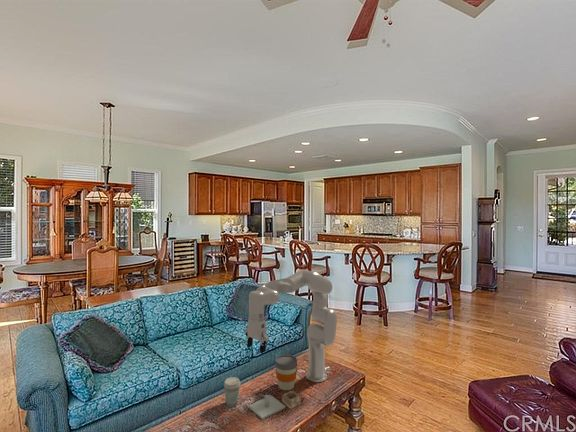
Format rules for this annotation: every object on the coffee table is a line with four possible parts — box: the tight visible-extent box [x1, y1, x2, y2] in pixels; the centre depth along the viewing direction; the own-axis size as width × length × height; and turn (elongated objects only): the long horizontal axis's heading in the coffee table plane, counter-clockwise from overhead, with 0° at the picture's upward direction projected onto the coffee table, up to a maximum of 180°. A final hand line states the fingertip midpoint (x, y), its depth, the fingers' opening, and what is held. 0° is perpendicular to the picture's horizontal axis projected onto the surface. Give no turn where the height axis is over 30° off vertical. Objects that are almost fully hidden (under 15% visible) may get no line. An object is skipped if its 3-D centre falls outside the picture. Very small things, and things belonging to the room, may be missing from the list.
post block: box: [248, 394, 286, 420], centre depth 163 cm, size 14×12×6 cm
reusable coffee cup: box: [274, 354, 298, 391], centre depth 183 cm, size 13×13×15 cm
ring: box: [281, 389, 302, 410], centre depth 167 cm, size 7×7×4 cm
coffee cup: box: [223, 376, 241, 408], centre depth 166 cm, size 8×8×12 cm
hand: (256, 349), depth 163 cm, fingers open, 9 cm apart
